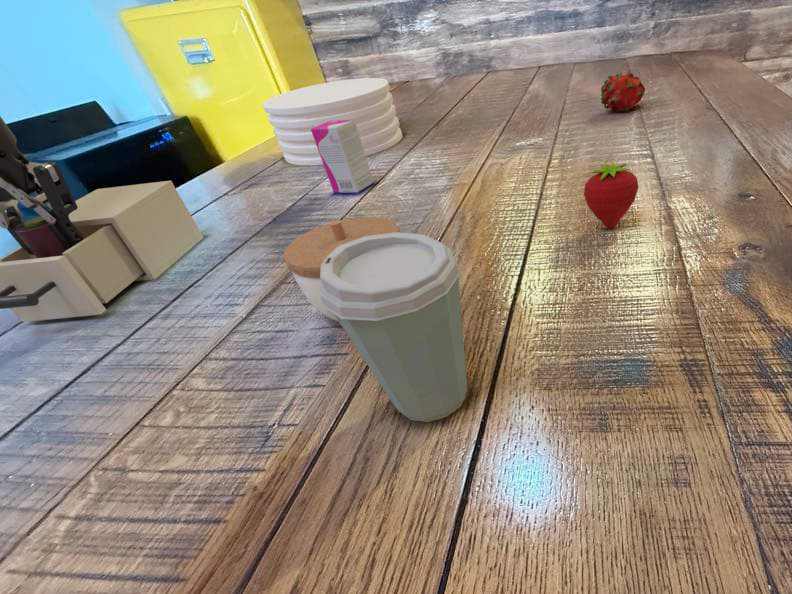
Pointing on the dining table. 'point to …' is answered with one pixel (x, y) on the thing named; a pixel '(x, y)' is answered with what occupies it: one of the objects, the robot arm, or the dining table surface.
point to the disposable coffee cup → (402, 318)
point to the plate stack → (333, 116)
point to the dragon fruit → (622, 92)
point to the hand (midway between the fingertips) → (57, 249)
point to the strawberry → (611, 193)
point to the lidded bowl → (327, 251)
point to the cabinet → (143, 222)
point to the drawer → (68, 277)
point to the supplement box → (343, 157)
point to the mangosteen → (40, 238)
